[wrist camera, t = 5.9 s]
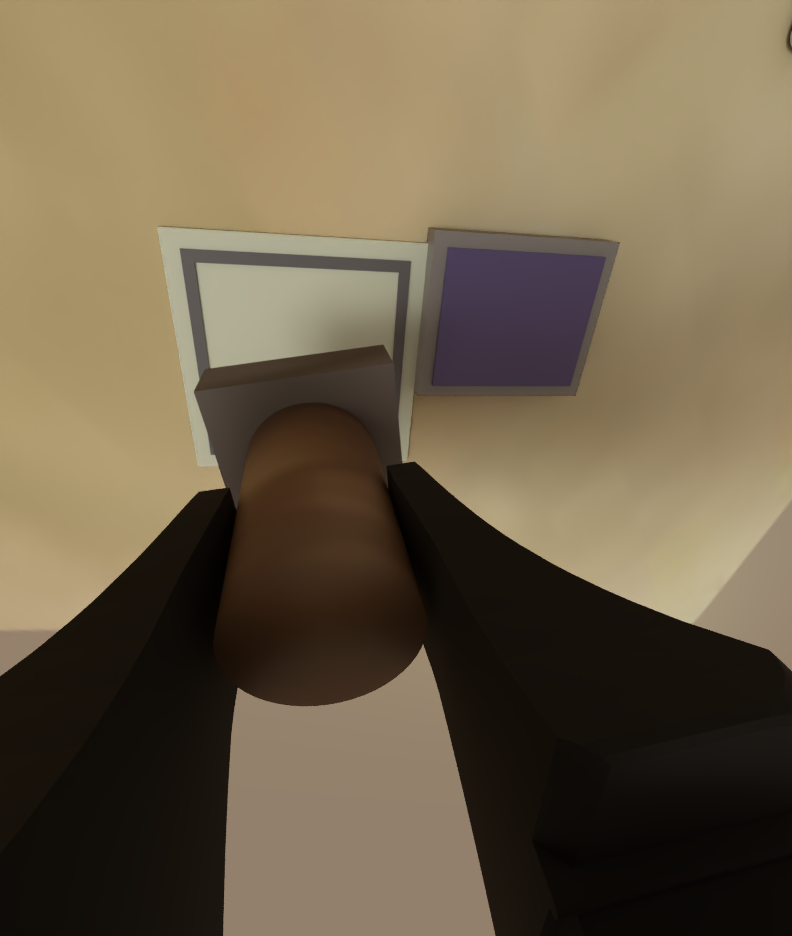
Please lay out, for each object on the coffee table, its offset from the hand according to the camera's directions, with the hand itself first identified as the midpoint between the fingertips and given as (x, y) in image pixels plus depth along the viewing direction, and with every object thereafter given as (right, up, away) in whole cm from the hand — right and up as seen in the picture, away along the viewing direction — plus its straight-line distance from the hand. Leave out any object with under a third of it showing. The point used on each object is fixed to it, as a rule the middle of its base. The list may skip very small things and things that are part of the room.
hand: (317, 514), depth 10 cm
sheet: (-2, +5, +8) cm, 10 cm away
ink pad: (+6, +7, +9) cm, 13 cm away
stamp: (-1, +2, +3) cm, 4 cm away
